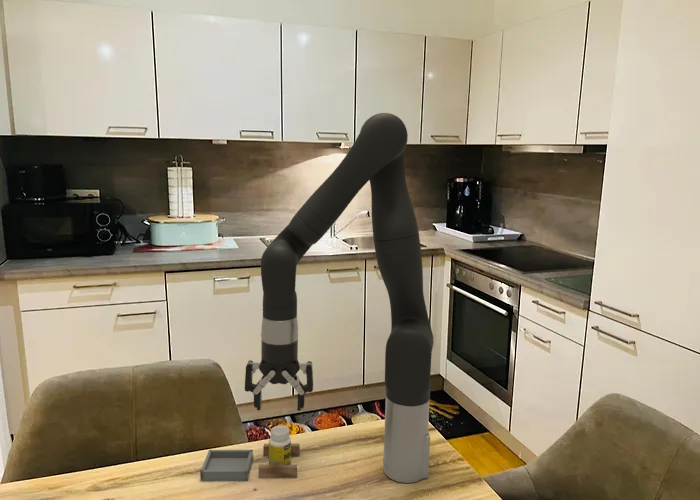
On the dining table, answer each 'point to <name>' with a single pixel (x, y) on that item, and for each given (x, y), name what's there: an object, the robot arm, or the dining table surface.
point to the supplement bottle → (280, 446)
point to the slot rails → (279, 470)
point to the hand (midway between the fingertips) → (279, 408)
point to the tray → (227, 465)
